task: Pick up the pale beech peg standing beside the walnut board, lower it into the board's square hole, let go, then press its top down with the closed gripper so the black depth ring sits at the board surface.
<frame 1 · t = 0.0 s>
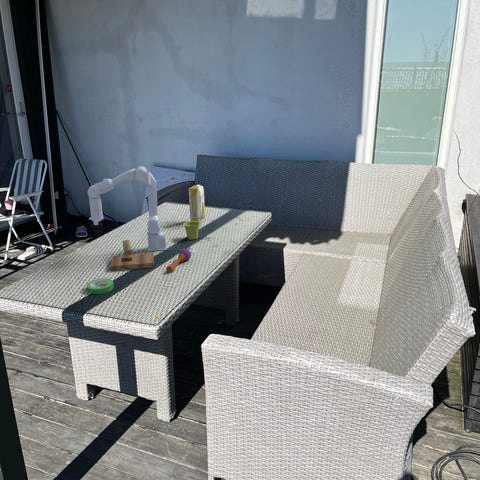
hand: (99, 234, 237), 10 cm above the table, tool pointing down, fingers open, 7 cm apart
tape roll: (100, 289, 199), on the table
plant pot: (192, 238, 261), on the table
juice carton: (197, 222, 291), on the table
walnut board: (133, 263, 225), on the table
kendama: (179, 265, 223), on the table
beech peg: (128, 255, 236), on the table
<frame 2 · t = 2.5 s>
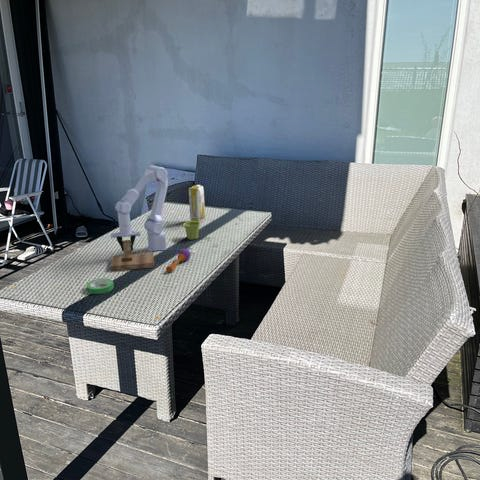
hand: (127, 250, 234), 3 cm above the table, tool pointing down, fingers closed on beech peg, 4 cm apart
beech peg: (128, 255, 236), on the table, touching gripper
everything else where it was.
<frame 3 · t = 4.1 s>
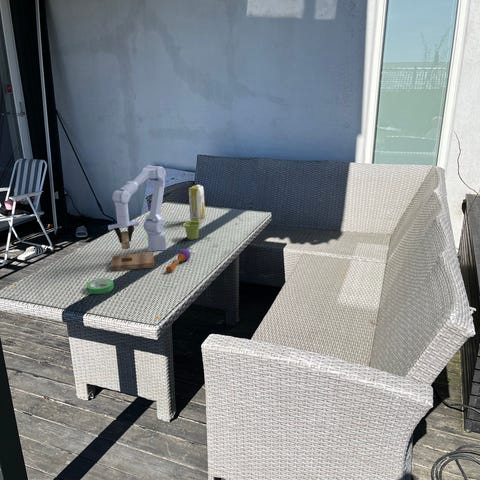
hand: (125, 241, 226), 10 cm above the table, tool pointing down, fingers closed on beech peg, 4 cm apart
beech peg: (125, 247, 227), point 7 cm above the table, touching gripper
everything else where it was.
when the fingers open (3 cm above the table, at t = 5.8 s): beech peg stays where it is, resting in walnut board.
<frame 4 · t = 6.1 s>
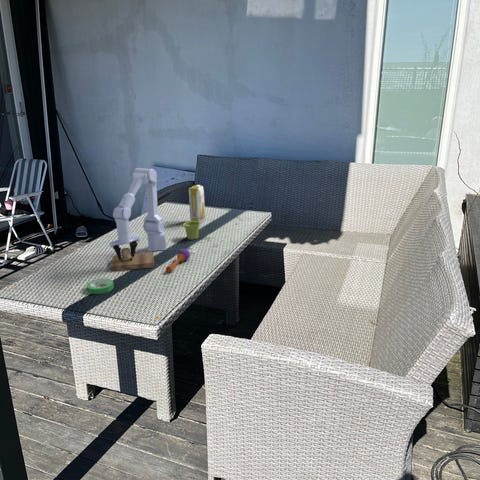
hand: (126, 257, 223), 3 cm above the table, tool pointing down, fingers open, 6 cm apart
beech peg: (126, 264, 224), resting in walnut board
everything else where it was.
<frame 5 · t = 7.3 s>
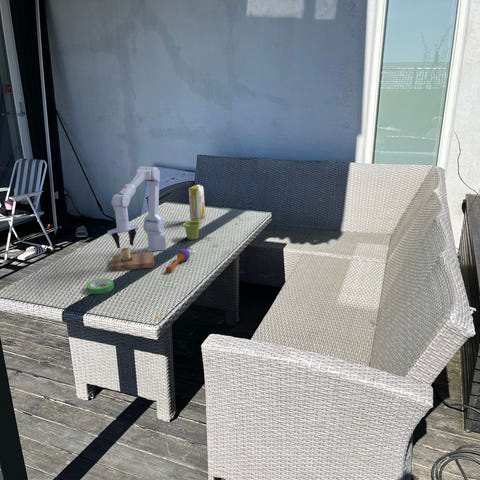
hand: (125, 246, 221), 9 cm above the table, tool pointing down, fingers open, 6 cm apart
nothing on the table moved.
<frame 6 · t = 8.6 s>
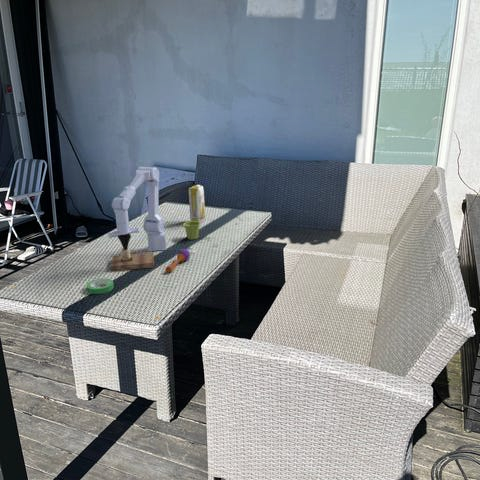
hand: (125, 249, 222), 8 cm above the table, tool pointing down, fingers closed
nothing on the table moved.
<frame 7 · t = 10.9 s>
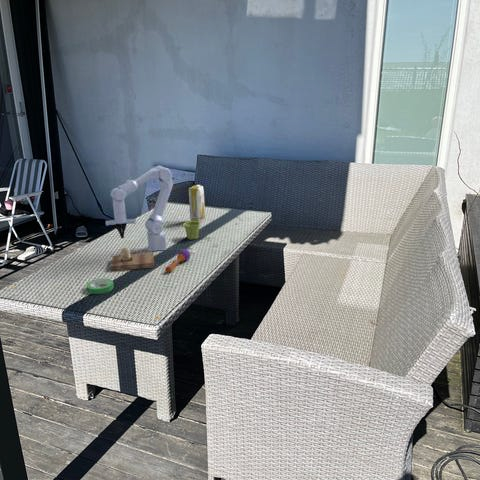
hand: (122, 237, 234), 9 cm above the table, tool pointing down, fingers closed
nothing on the table moved.
at the end: beech peg 0.1 cm from the target spot on the walnut board, point 0.0 cm above the walnut board's base; beech peg tilted 0°; the gripper is holding nothing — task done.
